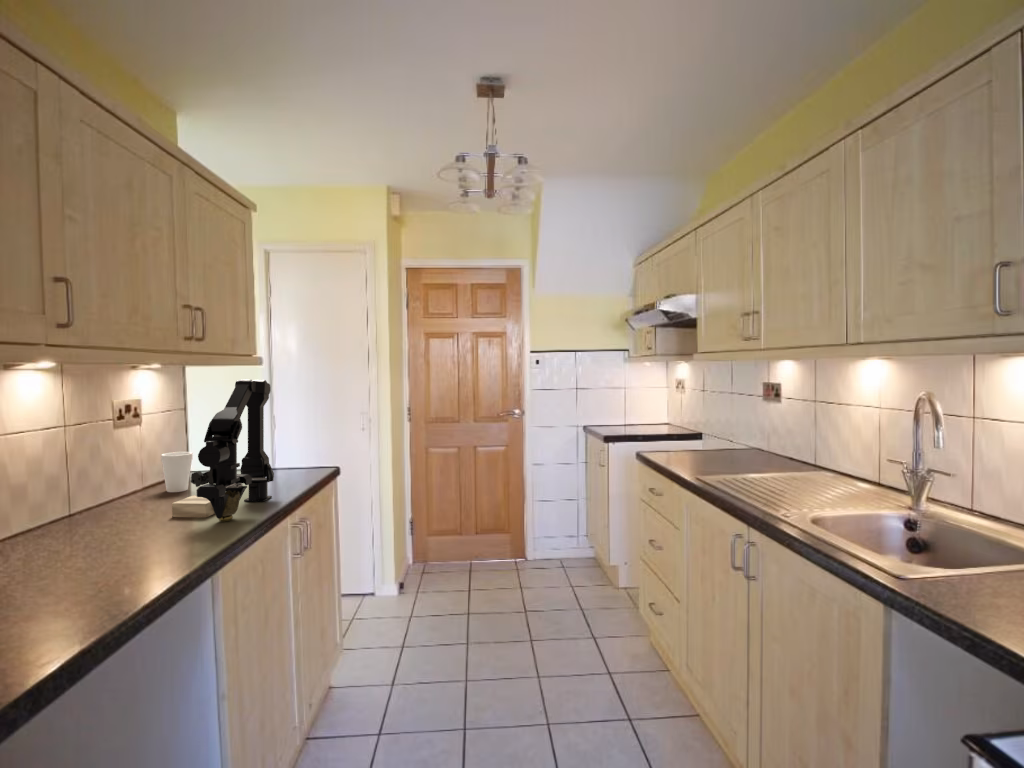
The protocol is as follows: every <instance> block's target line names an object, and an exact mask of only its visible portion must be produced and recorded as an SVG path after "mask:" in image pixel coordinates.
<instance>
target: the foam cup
mask: <svg viewBox="0 0 1024 768" xmlns="http://www.w3.org/2000/svg"><path fill="white" fill-rule="evenodd" d="M193 453H194V452H191V451H174V452H165V453H162V454H161V455H160V462H161V464H162V472H163V476H164V484H165V488H166V492H167V493H181V492H186V491H187V490H188V489H189V482H190V477H191V470H192V461H193V456H194V455H193Z"/></svg>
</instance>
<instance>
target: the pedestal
mask: <svg viewBox="0 0 1024 768" xmlns="http://www.w3.org/2000/svg"><path fill="white" fill-rule="evenodd" d="M214 514H215V513H214V511H213V507H212V504H211V502H210V501H209V500H208V499H206V498H203V497H197V495H196V494H194V495H190V496H188V497H185V498H182V499H180V500H177V501H174V502H172V503H171V515H172V516H171V517H172V518H208V517H210V516H212V515H214ZM215 515H216V514H215Z"/></svg>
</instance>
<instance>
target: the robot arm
mask: <svg viewBox="0 0 1024 768" xmlns="http://www.w3.org/2000/svg"><path fill="white" fill-rule="evenodd" d="M271 387H272V386H271V384H270V383H268V382H267V380H266V379H238V380H236V381H235V385H234V389H233V391H232V392H231V395H230V397H229V399H228V401H227V402H226V404H225V406H224V408H223V409H222V410H220V411H218V412H216V413H215V414H214V416H213V417H212V419H210V421H209V424H208V427H207V430H206V432H205V437H204V439H203V442H204V443H205V446H203V447H202V448H201V449H200V450H199V452H198V454H197V459H198V461H199V463H200V464H201V465H202V466H204V467H207V468H209V470H208V471H205V472H202V471H201V470H198V471H194V472H191V473H190V483H191V484H193V485H195V487H196V488H197V489H196V494H195V495H196V496H197V497H203V498H206V499H208V500H209V501H210V502H211V504H212V507H213V509H214V512H215V516H216V518H217V519H218V518H222V515H223V512H224V509H225V505H226V502H227V499H228V495H229V494H225V492H227V491H229V490H230V491H232V492H234V491H236V492H237V491H238V492H239V491H240V499H239V502H240V500H241V498H242V497H243V495H244V493H245V491H246V489H247V488H248V497H247V498H245V499H243V502H254V503H255V502H256V503H257V502H260V503H263V502H266V501H267V500H270V499H271V498H273V496H272V495H268V487H269V486H268V485H269V483H270V482H274V478H275V472H274V470H273V468H272V465H271V464H270V457H269V455H268V454H267V453H266V452H265V450H264V449H265V447H264V439H265V438H264V437H265V436H264V433H265V431H264V430H265V429H264V428H265V427H264V426H265V425H264V419H265V418H264V411H265V410H264V409H265V408H264V407H265V405H266V403H267V402H268V401H269V398H270V393H271ZM246 407H247V453H246V454H245V456H244V457H243V458H241V463H240V462H238V456H237V454H238V453H237V451H238V447H237V446H238V445H237V444H238V442H239V438H240V435H241V432H242V431H243V423H242V420H241V417H242V414H243V412H244V410H245V408H246ZM239 467H240V473H238V469H237V468H239ZM243 484H244V485H243Z"/></svg>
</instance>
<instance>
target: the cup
mask: <svg viewBox="0 0 1024 768" xmlns="http://www.w3.org/2000/svg"><path fill="white" fill-rule="evenodd" d="M225 494H229V495H228V499H227V502H226V505H225V509H224V512H223V515H222V518H217V519H218V521H219V522H221V523H228V522H231V521H232V520H233V519H234V515H235V514H236V513H237V511H238V509H239V505H240V501H239V499H240V491H239V492H238V491H237V492H236V491H234V492H232V491H230V490H229V491H227V492H225ZM240 500H241V499H240ZM213 511H214V509H213ZM214 513H215V512H214Z"/></svg>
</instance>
